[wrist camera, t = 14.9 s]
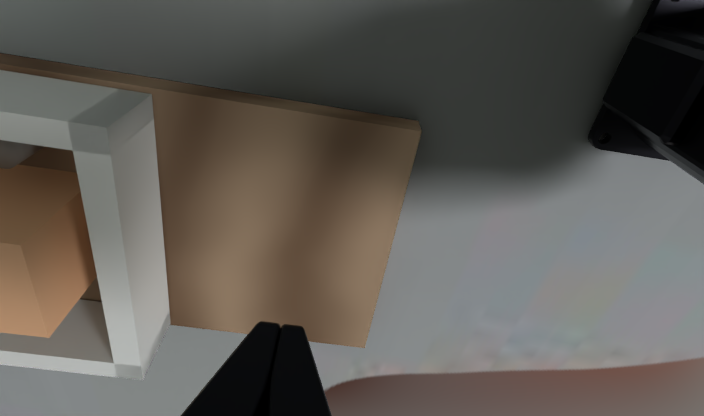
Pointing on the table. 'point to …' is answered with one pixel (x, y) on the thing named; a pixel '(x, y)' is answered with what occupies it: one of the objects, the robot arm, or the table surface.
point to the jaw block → (41, 249)
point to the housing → (99, 223)
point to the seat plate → (260, 202)
